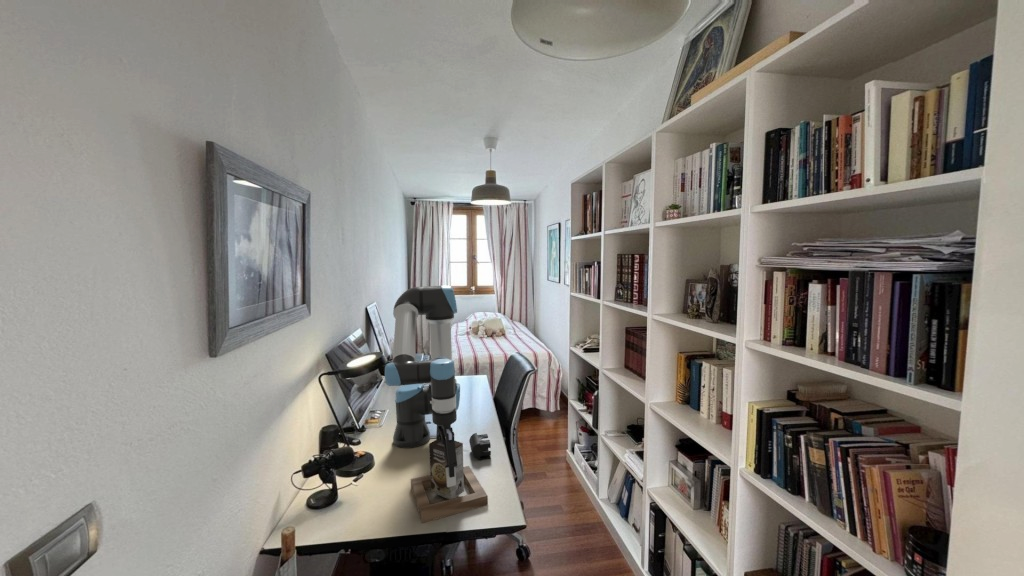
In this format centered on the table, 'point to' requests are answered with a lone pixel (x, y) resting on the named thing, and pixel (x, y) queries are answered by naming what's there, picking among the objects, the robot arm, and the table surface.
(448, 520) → the table surface
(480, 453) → the end cap
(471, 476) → the walnut hole plate
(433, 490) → the coffee box
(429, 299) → the robot arm
